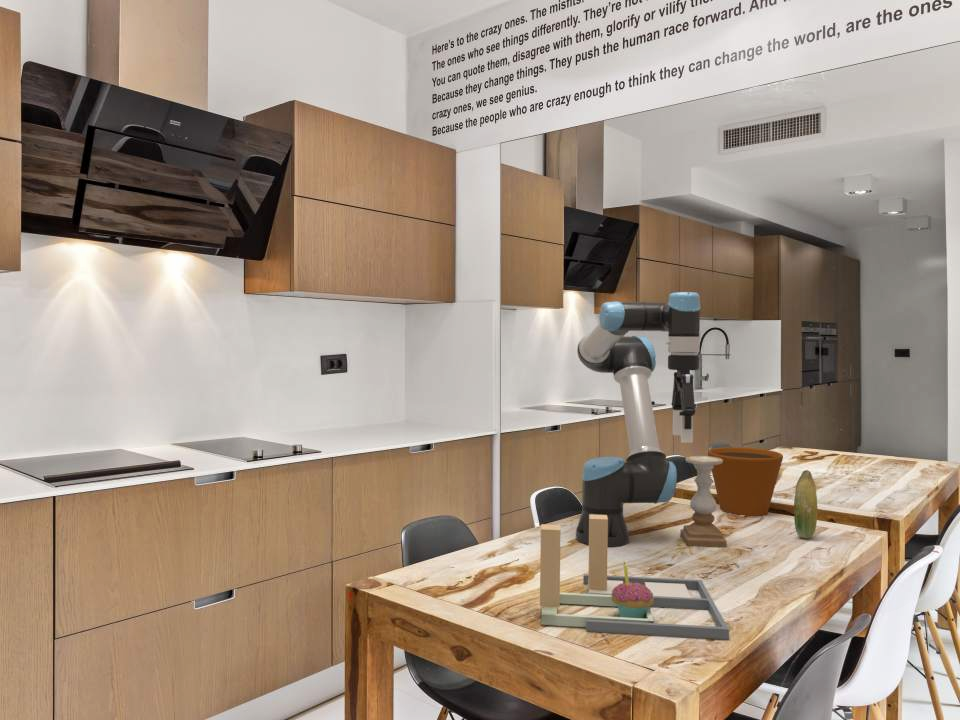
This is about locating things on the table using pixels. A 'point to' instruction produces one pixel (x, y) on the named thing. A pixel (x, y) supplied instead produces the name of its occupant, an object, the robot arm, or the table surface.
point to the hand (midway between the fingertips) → (682, 438)
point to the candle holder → (703, 507)
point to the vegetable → (805, 506)
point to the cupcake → (632, 598)
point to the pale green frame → (553, 597)
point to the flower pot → (745, 479)
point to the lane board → (668, 602)
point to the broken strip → (599, 564)
